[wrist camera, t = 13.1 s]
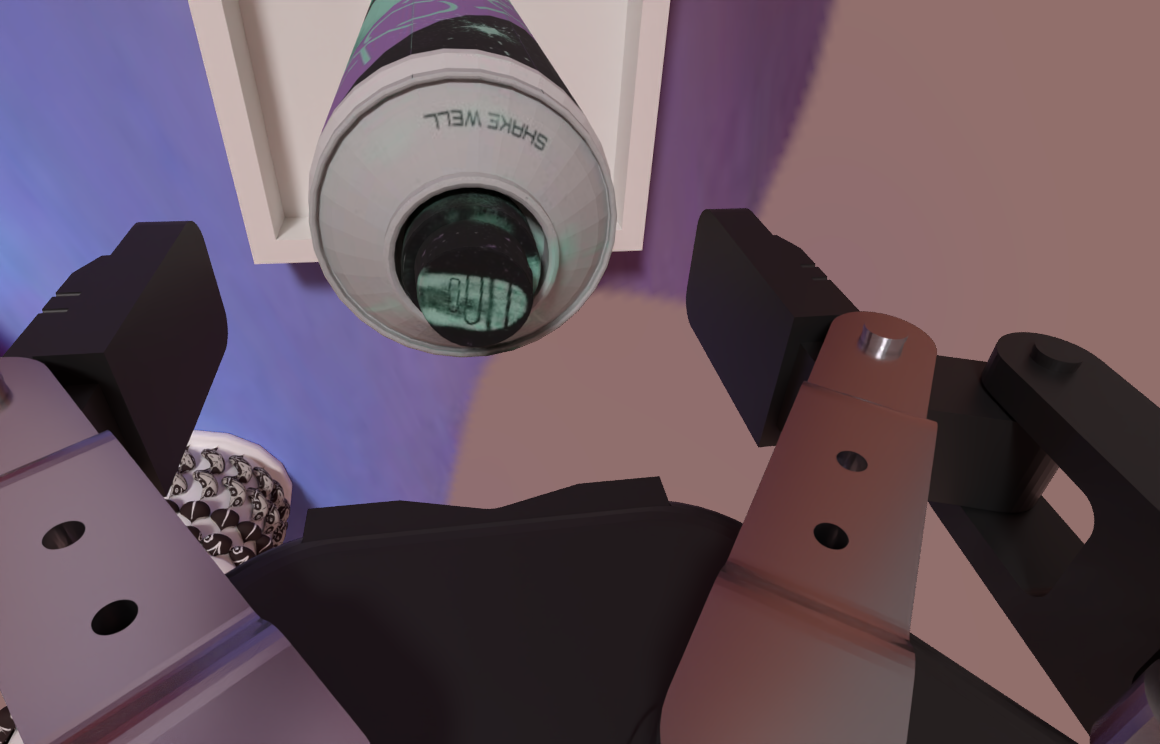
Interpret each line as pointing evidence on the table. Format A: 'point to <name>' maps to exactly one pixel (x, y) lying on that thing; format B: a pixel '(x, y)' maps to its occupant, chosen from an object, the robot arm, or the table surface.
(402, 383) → the table surface
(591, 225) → the spray can
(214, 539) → the decorative candle
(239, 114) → the tray
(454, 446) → the table surface
